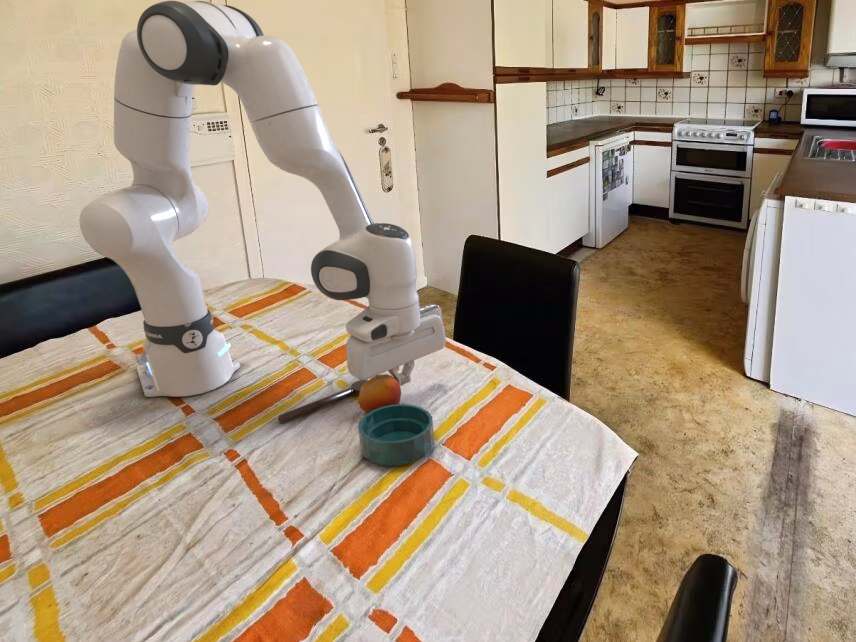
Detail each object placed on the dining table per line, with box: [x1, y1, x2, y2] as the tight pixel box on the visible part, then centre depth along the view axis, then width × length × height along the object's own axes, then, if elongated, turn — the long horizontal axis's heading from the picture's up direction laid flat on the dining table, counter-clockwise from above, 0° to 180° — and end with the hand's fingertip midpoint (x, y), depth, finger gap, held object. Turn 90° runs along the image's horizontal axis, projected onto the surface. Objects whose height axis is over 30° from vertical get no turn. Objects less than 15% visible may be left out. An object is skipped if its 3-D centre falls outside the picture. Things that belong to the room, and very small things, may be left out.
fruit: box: [358, 373, 402, 414], centre depth 116 cm, size 8×8×8 cm
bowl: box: [357, 403, 435, 467], centre depth 105 cm, size 12×12×5 cm
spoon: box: [277, 379, 369, 424], centre depth 119 cm, size 4×20×2 cm, turn 135°
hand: (402, 383), depth 119 cm, fingers closed
